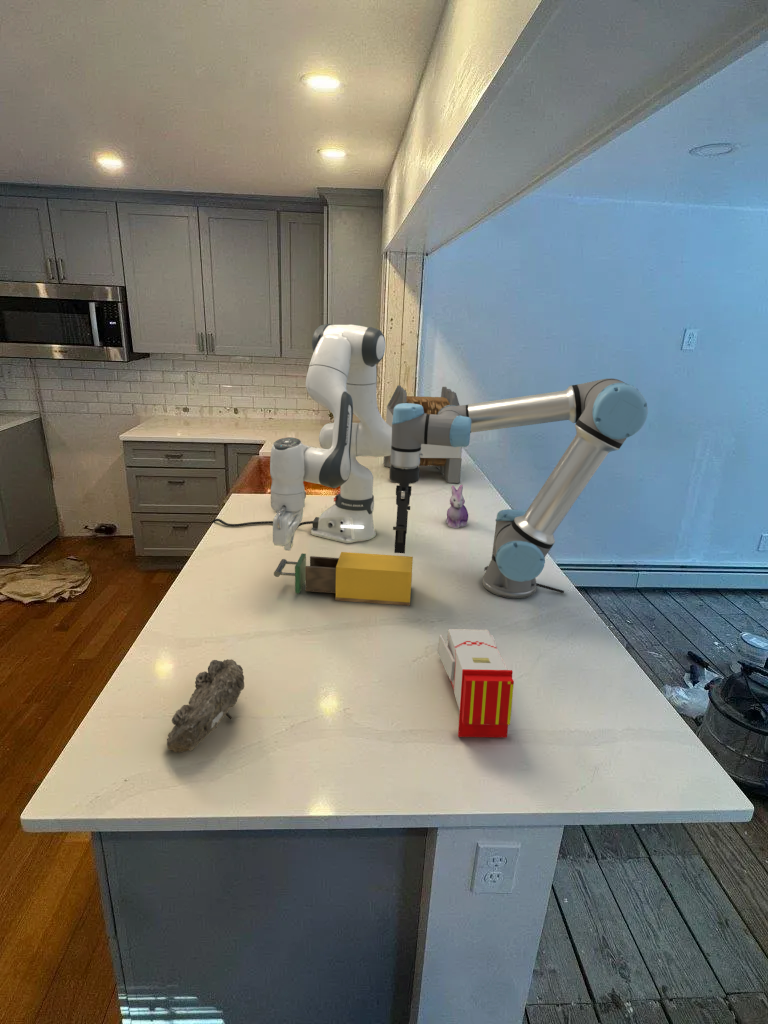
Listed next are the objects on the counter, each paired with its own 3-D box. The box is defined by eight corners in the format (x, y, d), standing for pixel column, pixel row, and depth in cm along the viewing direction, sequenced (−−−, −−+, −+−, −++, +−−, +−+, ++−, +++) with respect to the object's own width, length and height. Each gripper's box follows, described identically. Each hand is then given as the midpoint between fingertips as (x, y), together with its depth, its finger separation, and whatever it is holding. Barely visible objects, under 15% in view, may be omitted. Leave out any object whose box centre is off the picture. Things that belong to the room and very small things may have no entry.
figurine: (453, 530, 205) (457, 490, 200) (438, 521, 213) (441, 482, 208) (475, 527, 209) (479, 488, 204) (459, 517, 217) (462, 480, 212)
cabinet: (335, 600, 153) (335, 567, 150) (340, 583, 162) (341, 551, 159) (409, 605, 152) (412, 572, 149) (410, 588, 161) (412, 556, 158)
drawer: (273, 591, 154) (273, 565, 151) (281, 577, 162) (281, 551, 160) (364, 598, 153) (365, 571, 150) (367, 583, 161) (368, 557, 158)
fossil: (192, 660, 117) (244, 628, 112) (224, 691, 120) (276, 661, 115) (142, 746, 98) (202, 712, 93) (182, 779, 101) (242, 748, 96)
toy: (488, 613, 130) (523, 677, 101) (484, 667, 133) (517, 744, 104) (435, 612, 130) (455, 676, 101) (432, 666, 133) (451, 743, 103)
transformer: (382, 463, 289) (386, 382, 275) (445, 464, 293) (451, 384, 279) (390, 482, 257) (394, 392, 243) (460, 483, 261) (468, 394, 247)
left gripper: (290, 514, 140) (291, 565, 144) (307, 489, 159) (307, 535, 163) (265, 512, 140) (267, 563, 145) (284, 488, 159) (285, 533, 164)
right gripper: (419, 480, 132) (413, 562, 139) (420, 454, 156) (415, 526, 163) (387, 478, 133) (383, 560, 140) (393, 452, 156) (389, 524, 163)
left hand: (288, 548), depth 154 cm, fingers closed
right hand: (400, 542), depth 151 cm, fingers open, 13 cm apart
